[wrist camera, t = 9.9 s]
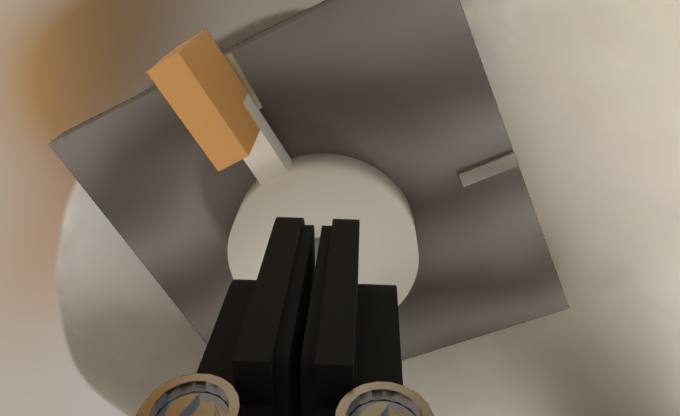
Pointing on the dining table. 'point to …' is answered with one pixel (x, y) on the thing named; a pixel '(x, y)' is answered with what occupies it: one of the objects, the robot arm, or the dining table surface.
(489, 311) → the dial board
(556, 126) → the dining table surface
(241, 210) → the white handled round piece
